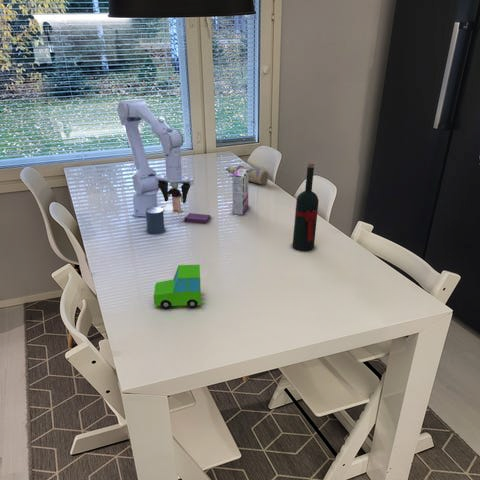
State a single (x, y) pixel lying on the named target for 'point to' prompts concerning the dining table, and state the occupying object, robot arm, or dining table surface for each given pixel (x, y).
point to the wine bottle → (306, 215)
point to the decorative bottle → (252, 174)
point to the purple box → (197, 218)
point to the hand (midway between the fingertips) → (175, 201)
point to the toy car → (180, 288)
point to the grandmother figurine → (175, 197)
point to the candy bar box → (240, 191)
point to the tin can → (155, 220)
